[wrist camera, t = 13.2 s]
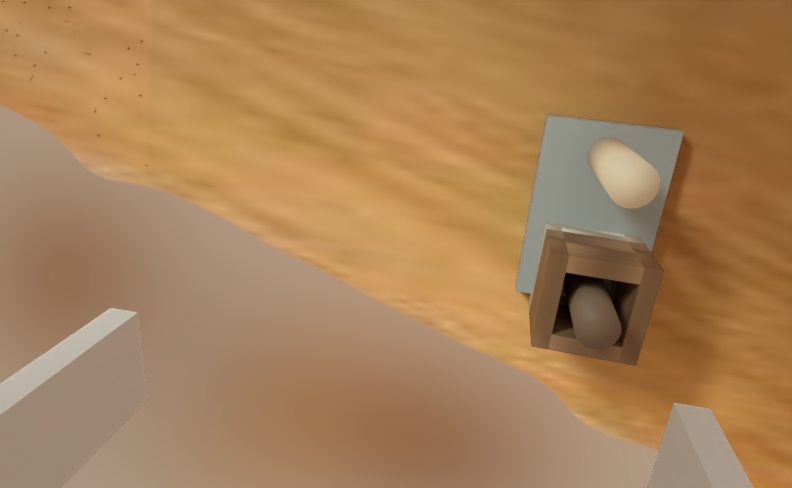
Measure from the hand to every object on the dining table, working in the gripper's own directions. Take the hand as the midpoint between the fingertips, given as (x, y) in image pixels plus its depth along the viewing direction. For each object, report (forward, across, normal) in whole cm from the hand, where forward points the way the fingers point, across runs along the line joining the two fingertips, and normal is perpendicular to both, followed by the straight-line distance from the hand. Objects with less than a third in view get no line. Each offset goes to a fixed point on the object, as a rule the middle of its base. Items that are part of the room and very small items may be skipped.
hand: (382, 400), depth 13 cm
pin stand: (+26, +9, -2) cm, 27 cm away
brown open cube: (+25, +9, -6) cm, 27 cm away
